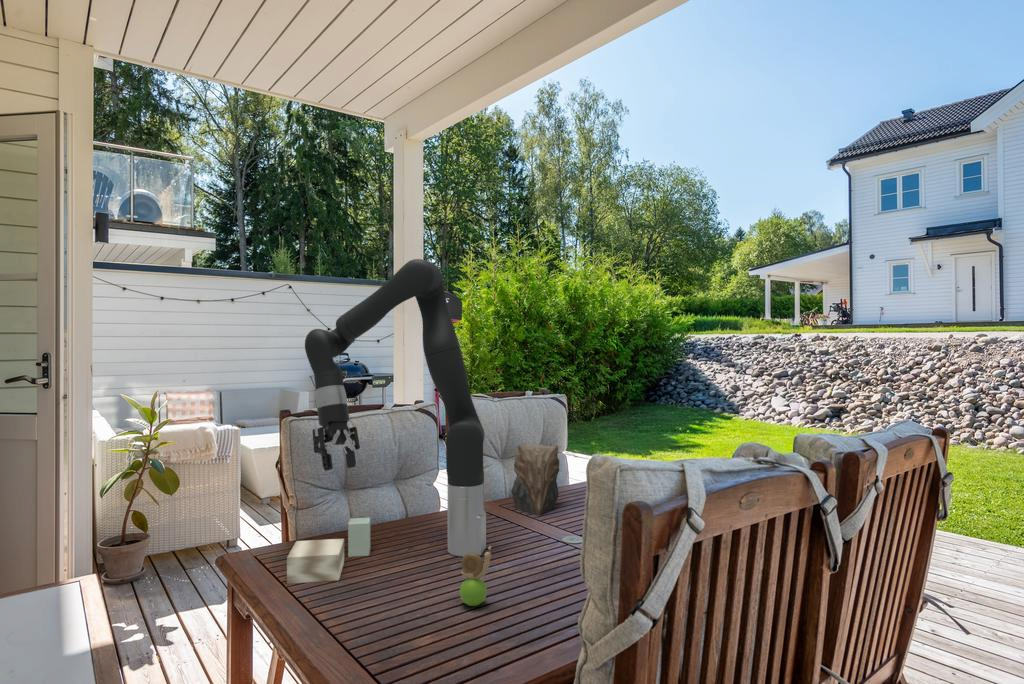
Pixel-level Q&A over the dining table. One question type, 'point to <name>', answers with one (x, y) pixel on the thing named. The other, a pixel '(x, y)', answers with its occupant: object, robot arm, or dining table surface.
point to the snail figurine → (474, 578)
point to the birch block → (315, 561)
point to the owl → (536, 478)
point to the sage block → (359, 537)
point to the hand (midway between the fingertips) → (340, 468)
